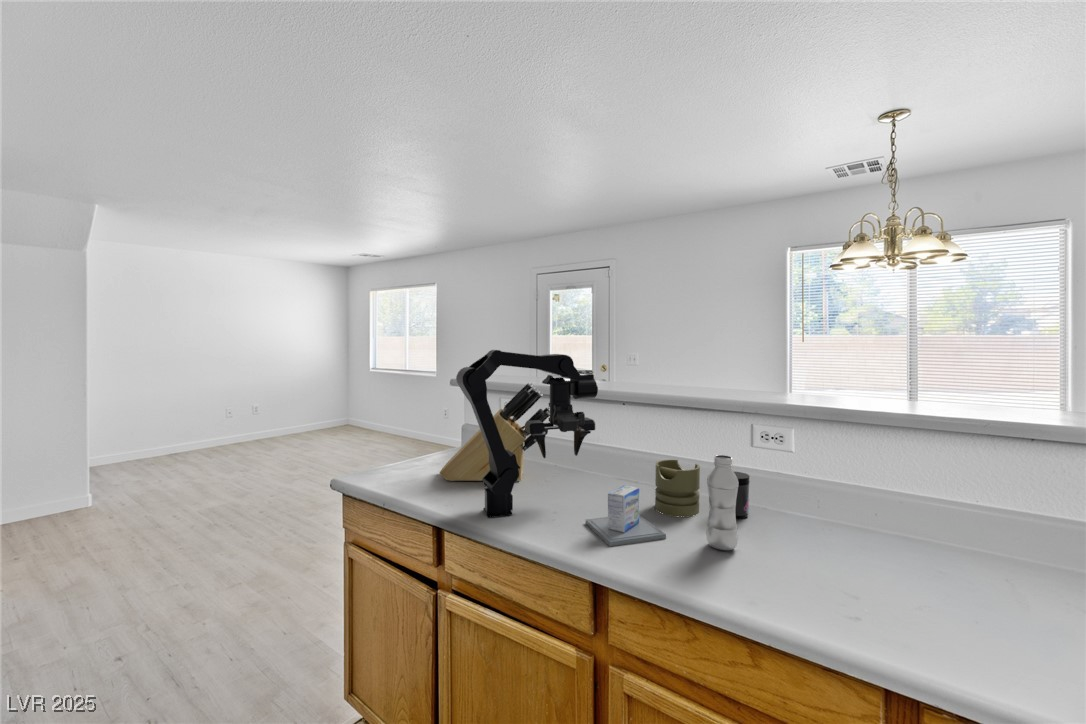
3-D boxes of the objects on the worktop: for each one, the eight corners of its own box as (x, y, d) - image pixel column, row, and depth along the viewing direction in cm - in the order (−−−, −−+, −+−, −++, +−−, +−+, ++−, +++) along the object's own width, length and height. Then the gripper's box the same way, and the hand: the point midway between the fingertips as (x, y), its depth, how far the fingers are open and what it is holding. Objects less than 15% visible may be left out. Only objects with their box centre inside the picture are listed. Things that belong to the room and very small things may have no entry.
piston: (685, 473, 125) (647, 464, 133) (685, 520, 126) (646, 509, 134) (707, 464, 133) (670, 457, 141) (707, 509, 133) (669, 499, 142)
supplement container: (744, 521, 125) (745, 480, 124) (717, 515, 129) (717, 475, 128) (752, 513, 130) (753, 474, 130) (725, 508, 134) (726, 469, 134)
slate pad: (609, 546, 110) (609, 541, 110) (585, 523, 124) (585, 519, 124) (665, 538, 114) (666, 533, 114) (636, 517, 128) (636, 512, 128)
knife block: (550, 482, 158) (550, 384, 156) (439, 482, 158) (437, 384, 157) (550, 472, 169) (550, 381, 167) (446, 472, 170) (445, 381, 168)
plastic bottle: (723, 556, 105) (724, 462, 104) (699, 544, 111) (700, 455, 110) (744, 550, 108) (746, 458, 107) (720, 539, 114) (722, 452, 113)
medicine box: (624, 533, 115) (624, 496, 114) (607, 529, 117) (607, 492, 117) (639, 523, 121) (640, 487, 120) (623, 519, 124) (623, 484, 123)
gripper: (535, 405, 126) (536, 466, 127) (603, 402, 132) (603, 461, 133) (524, 400, 137) (524, 456, 138) (587, 397, 143) (587, 451, 144)
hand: (560, 456), depth 138 cm, fingers open, 9 cm apart
